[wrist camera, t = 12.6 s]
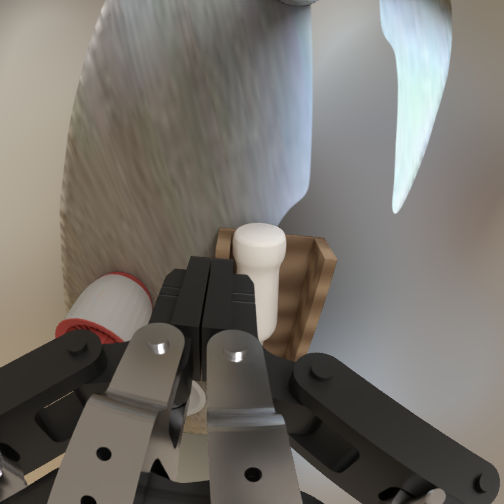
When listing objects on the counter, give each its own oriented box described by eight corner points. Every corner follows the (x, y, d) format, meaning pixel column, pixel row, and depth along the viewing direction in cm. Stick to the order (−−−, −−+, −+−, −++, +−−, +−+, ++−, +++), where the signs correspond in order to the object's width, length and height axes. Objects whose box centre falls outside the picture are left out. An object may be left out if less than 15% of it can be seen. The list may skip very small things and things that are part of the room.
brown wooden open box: (219, 227, 47) (215, 249, 40) (324, 237, 48) (337, 260, 41) (212, 357, 61) (210, 384, 54) (289, 361, 63) (293, 387, 56)
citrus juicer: (126, 336, 58) (100, 407, 40) (78, 278, 50) (32, 344, 33) (180, 317, 55) (162, 398, 38) (131, 248, 48) (84, 321, 30)
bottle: (256, 249, 37) (249, 385, 51) (298, 234, 42) (279, 366, 56) (221, 228, 42) (225, 361, 56) (262, 217, 47) (254, 344, 61)
